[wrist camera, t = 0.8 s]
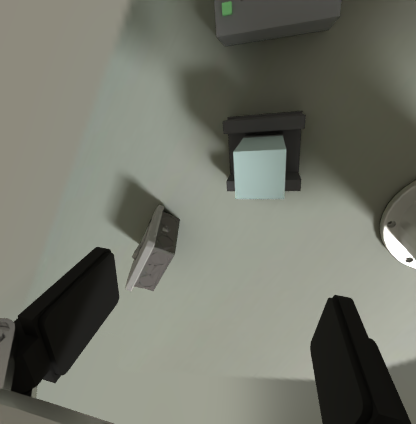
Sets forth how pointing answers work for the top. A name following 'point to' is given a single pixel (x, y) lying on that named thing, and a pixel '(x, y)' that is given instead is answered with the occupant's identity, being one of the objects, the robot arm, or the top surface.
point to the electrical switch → (154, 251)
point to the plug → (260, 166)
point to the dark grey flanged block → (268, 124)
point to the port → (272, 18)
